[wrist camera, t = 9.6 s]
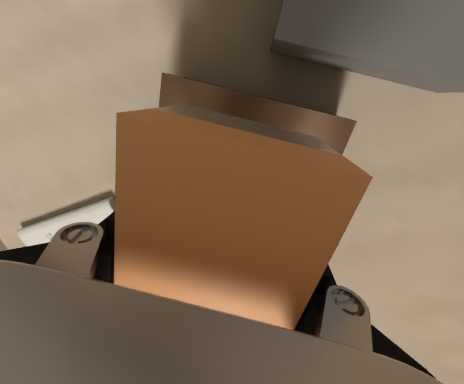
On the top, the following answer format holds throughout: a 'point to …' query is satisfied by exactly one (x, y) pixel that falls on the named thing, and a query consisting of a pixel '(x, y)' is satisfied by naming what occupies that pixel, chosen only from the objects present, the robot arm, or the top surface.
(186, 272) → the cover
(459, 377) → the top surface
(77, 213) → the external hard drive
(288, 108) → the stand
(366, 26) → the stand
